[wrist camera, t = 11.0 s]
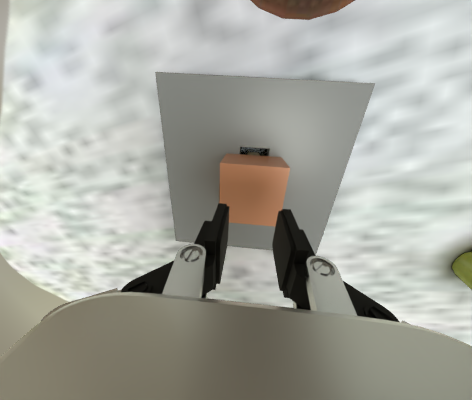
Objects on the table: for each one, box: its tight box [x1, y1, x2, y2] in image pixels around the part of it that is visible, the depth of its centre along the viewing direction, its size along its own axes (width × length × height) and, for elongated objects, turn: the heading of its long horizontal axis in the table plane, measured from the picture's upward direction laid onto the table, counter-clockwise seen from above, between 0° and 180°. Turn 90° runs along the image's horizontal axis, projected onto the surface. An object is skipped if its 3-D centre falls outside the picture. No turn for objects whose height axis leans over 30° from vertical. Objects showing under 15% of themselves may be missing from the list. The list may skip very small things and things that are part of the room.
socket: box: [155, 72, 375, 255], centre depth 21 cm, size 20×20×3 cm
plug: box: [219, 152, 290, 227], centre depth 19 cm, size 6×6×7 cm
